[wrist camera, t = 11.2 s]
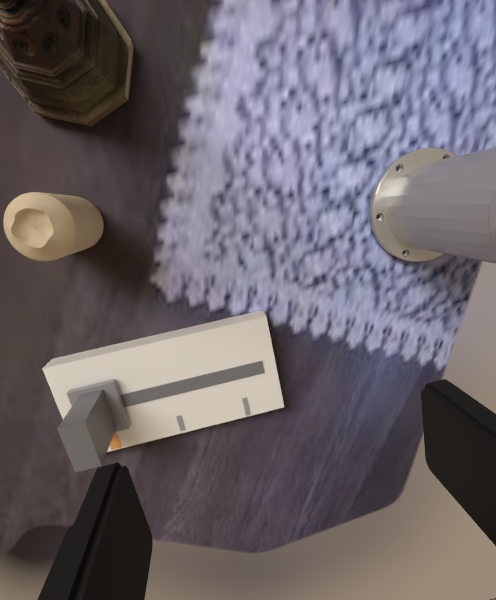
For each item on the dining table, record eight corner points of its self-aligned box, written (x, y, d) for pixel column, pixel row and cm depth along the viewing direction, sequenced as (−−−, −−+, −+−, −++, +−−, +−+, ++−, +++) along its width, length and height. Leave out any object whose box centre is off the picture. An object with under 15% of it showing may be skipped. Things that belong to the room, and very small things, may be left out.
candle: (110, 245, 37) (77, 257, 28) (58, 253, 37) (6, 269, 27) (96, 192, 36) (57, 185, 26) (42, 200, 35) (-19, 197, 26)
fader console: (262, 310, 41) (266, 316, 39) (280, 396, 44) (284, 407, 42) (52, 359, 39) (41, 369, 37) (86, 445, 43) (78, 459, 40)
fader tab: (114, 378, 38) (96, 413, 32) (130, 424, 40) (116, 466, 33) (69, 389, 38) (41, 427, 31) (87, 435, 39) (64, 480, 33)
